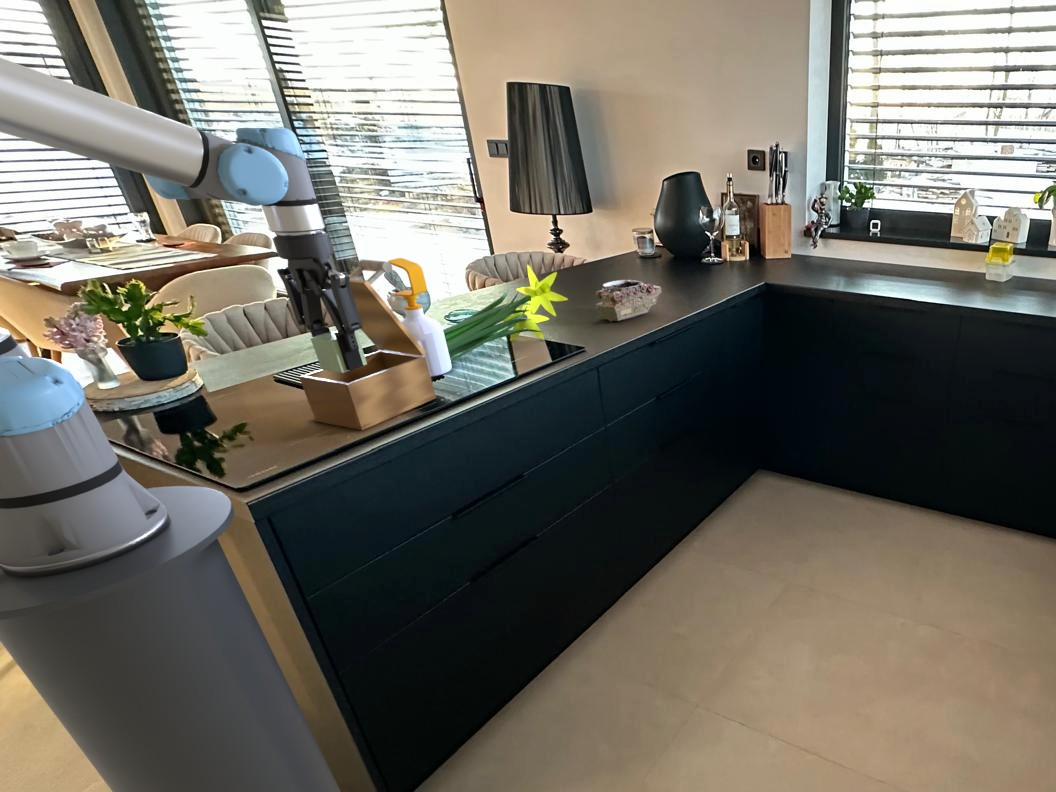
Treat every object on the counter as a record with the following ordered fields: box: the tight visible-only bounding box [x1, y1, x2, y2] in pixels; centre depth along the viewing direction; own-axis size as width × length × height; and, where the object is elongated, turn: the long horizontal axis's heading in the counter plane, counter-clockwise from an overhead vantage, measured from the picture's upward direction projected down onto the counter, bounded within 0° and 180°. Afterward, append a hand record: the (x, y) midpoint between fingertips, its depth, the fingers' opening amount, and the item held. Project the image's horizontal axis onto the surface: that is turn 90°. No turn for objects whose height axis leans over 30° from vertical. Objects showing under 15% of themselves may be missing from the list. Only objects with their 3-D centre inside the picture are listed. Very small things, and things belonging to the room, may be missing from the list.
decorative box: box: [594, 279, 663, 322], centre depth 185 cm, size 13×20×10 cm, turn 139°
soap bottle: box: [387, 257, 453, 378], centre depth 135 cm, size 9×9×25 cm
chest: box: [299, 349, 437, 431], centre depth 119 cm, size 17×12×9 cm
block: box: [310, 329, 367, 373], centre depth 112 cm, size 5×5×6 cm
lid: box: [324, 258, 426, 356], centre depth 119 cm, size 18×12×8 cm
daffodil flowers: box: [443, 263, 569, 363], centre depth 154 cm, size 17×15×35 cm
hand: (343, 365), depth 113 cm, fingers closed on block, 5 cm apart
